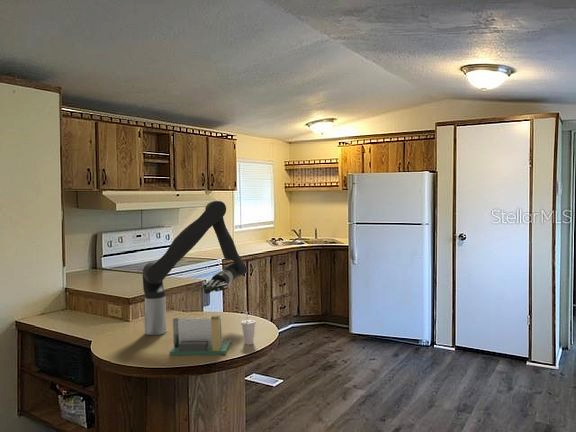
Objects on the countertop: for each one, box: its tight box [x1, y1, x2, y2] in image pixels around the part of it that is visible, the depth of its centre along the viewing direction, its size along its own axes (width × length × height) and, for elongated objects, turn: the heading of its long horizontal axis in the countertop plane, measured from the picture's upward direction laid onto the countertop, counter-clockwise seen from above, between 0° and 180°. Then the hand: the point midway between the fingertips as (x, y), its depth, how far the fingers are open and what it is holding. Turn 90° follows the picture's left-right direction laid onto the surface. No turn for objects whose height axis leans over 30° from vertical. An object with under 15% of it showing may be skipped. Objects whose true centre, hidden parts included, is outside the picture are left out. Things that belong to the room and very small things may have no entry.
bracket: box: [169, 313, 232, 356], centre depth 207 cm, size 23×14×16 cm, turn 88°
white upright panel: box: [172, 317, 223, 348], centre depth 204 cm, size 20×2×12 cm, turn 88°
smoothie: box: [240, 311, 257, 346], centre depth 213 cm, size 6×6×14 cm
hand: (206, 291), depth 213 cm, fingers closed
